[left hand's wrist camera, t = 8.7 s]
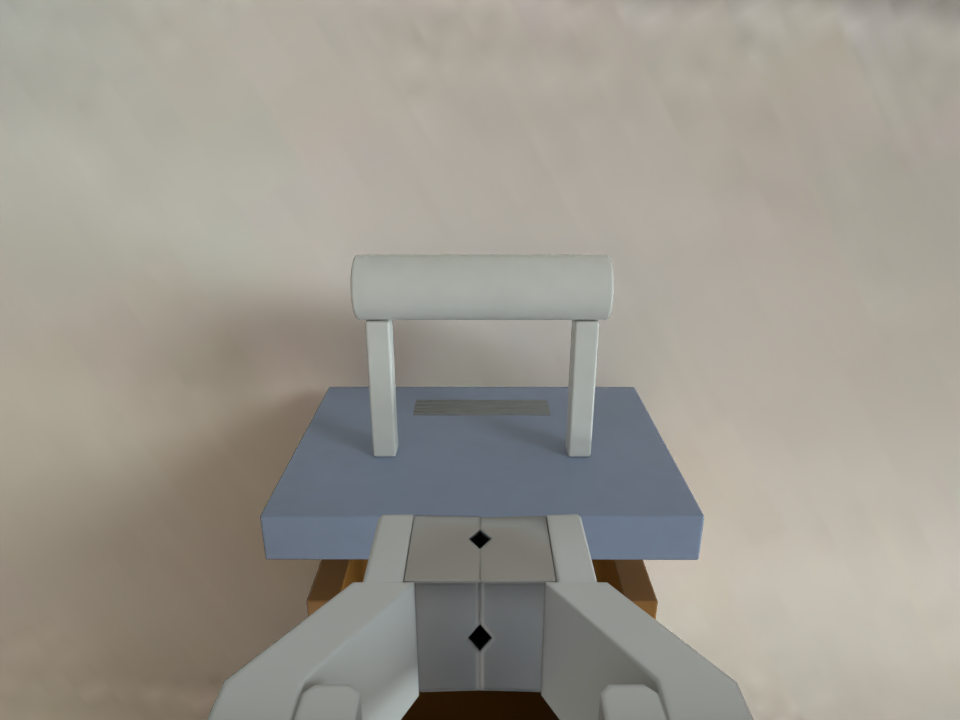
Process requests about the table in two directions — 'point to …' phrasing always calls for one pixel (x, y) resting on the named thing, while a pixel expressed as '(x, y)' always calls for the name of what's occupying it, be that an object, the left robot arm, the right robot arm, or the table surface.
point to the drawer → (482, 444)
